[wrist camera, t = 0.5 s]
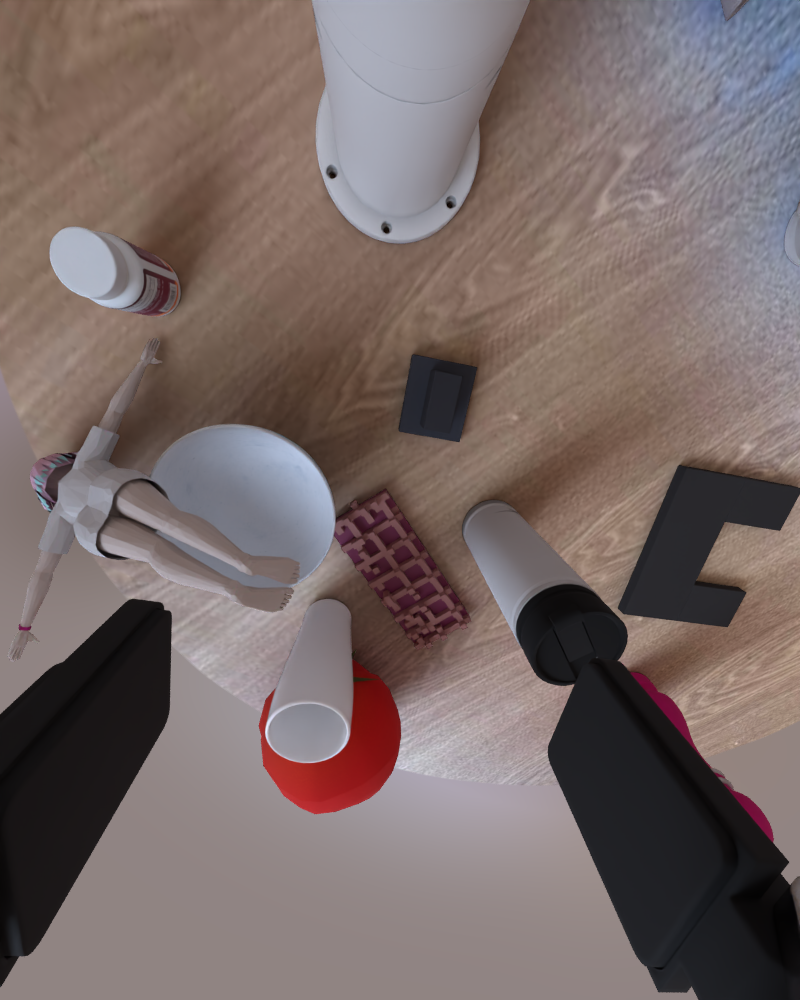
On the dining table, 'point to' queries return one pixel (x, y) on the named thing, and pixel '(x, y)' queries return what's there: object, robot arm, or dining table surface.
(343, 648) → the drinking glass
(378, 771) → the tomato
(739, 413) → the dining table surface
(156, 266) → the pill bottle
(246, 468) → the chinaware
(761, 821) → the pepper mill
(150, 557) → the figurine
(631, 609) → the black u-shaped block
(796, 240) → the teacup
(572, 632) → the travel mug
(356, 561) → the chocolate bar
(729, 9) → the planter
